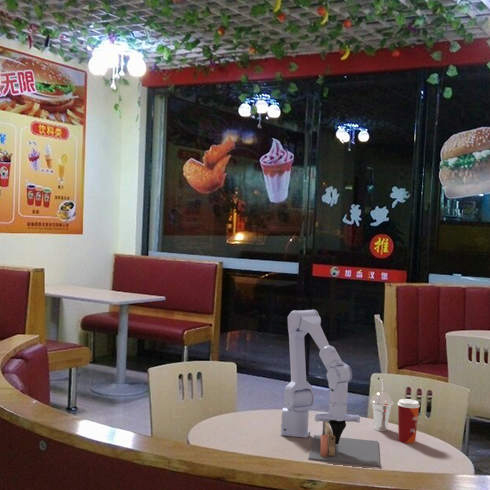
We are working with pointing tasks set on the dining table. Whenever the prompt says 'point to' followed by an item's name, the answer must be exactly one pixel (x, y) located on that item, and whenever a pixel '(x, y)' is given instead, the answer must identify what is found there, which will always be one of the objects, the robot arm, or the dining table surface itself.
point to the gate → (330, 440)
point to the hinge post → (324, 426)
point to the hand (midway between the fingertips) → (336, 443)
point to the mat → (348, 451)
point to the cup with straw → (381, 408)
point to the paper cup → (407, 420)
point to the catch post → (324, 445)
